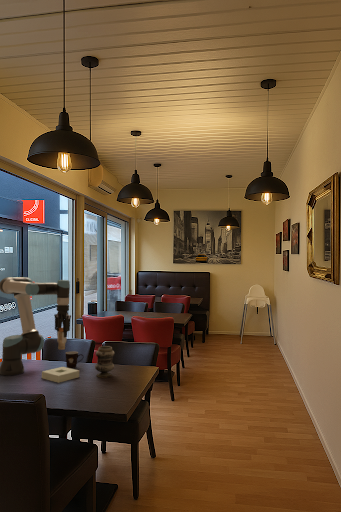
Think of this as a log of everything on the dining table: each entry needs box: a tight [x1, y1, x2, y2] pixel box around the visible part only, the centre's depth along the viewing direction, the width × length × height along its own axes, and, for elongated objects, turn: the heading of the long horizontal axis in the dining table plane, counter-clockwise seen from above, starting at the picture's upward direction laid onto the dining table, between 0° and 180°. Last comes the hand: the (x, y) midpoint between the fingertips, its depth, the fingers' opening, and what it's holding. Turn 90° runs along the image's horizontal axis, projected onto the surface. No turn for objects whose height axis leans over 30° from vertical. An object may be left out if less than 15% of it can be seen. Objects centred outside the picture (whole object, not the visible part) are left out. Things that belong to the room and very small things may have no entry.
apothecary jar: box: [94, 345, 115, 379], centre depth 238 cm, size 12×12×18 cm
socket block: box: [41, 366, 80, 384], centre depth 231 cm, size 16×16×4 cm
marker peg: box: [57, 327, 66, 351], centre depth 232 cm, size 4×4×13 cm
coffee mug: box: [65, 351, 85, 369], centre depth 257 cm, size 12×9×10 cm
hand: (61, 342), depth 232 cm, fingers closed on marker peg, 4 cm apart
